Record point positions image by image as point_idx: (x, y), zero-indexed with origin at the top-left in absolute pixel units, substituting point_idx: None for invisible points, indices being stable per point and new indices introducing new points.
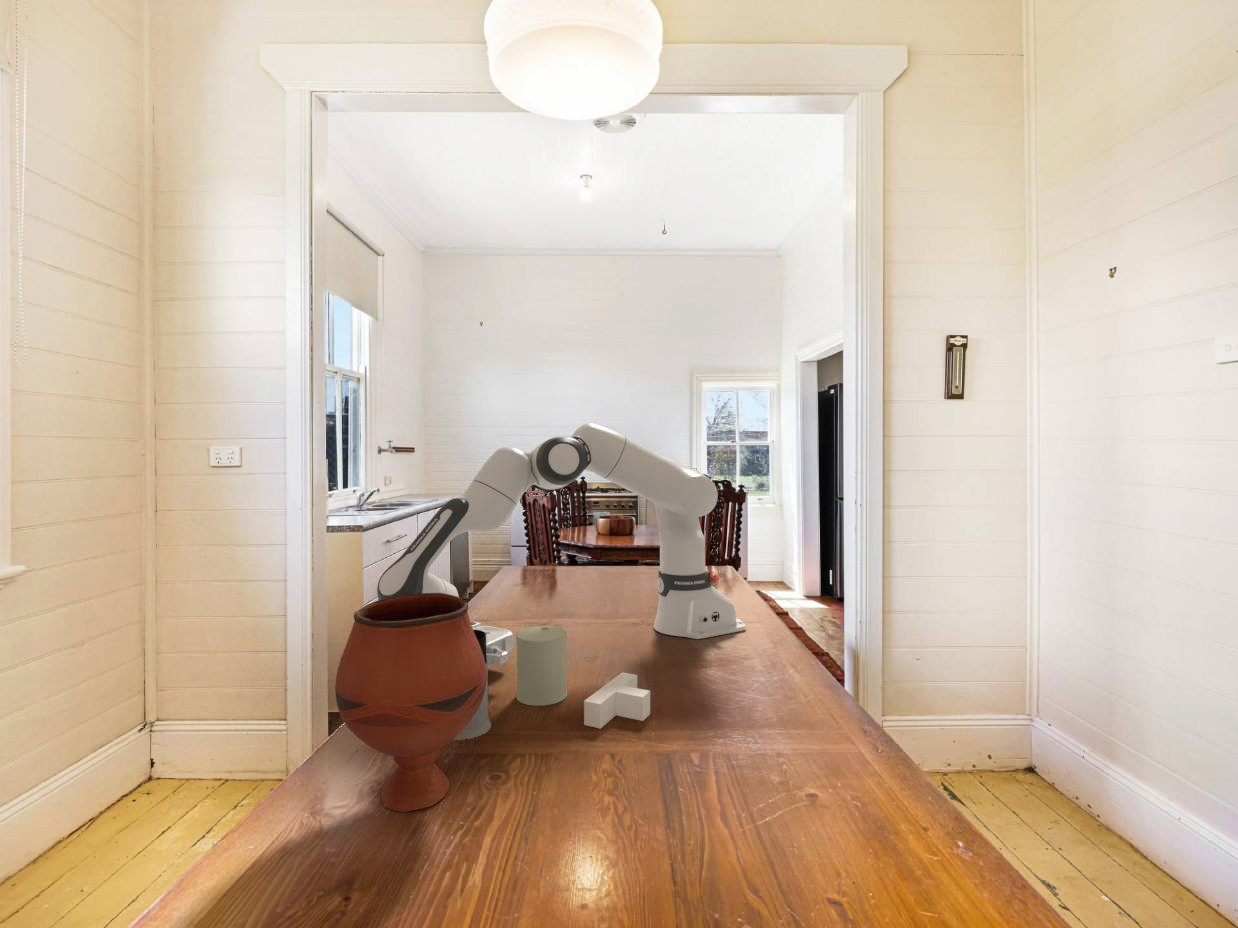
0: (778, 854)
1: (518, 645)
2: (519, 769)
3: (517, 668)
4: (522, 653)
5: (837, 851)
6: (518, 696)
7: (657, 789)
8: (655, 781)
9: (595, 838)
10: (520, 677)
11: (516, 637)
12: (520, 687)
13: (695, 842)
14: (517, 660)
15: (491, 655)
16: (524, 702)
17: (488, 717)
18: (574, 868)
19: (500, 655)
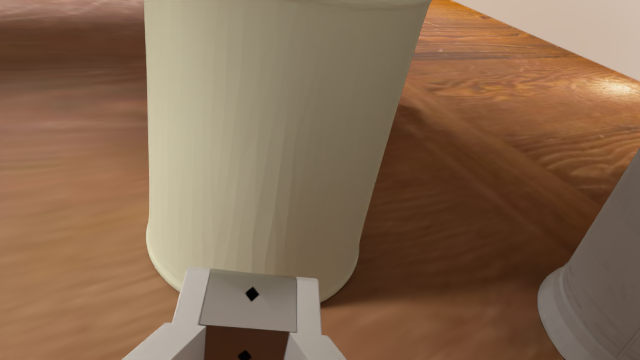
0: (466, 24)
1: (409, 47)
2: (591, 163)
3: (363, 177)
4: (408, 69)
5: (431, 9)
6: (347, 271)
7: (460, 61)
8: (447, 62)
9: (583, 88)
10: (372, 188)
11: (408, 11)
12: (361, 226)
13: (504, 48)
14: (374, 139)
15: (322, 339)
16: (358, 250)
17: (565, 264)
18: (628, 94)
19: (289, 278)
